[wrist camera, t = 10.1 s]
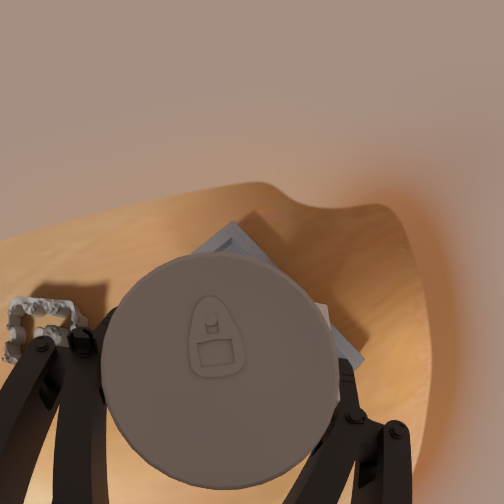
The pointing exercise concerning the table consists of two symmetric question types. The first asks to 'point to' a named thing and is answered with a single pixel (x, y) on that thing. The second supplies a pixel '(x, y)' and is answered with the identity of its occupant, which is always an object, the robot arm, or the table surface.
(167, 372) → the canned food
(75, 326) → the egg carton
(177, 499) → the table surface
